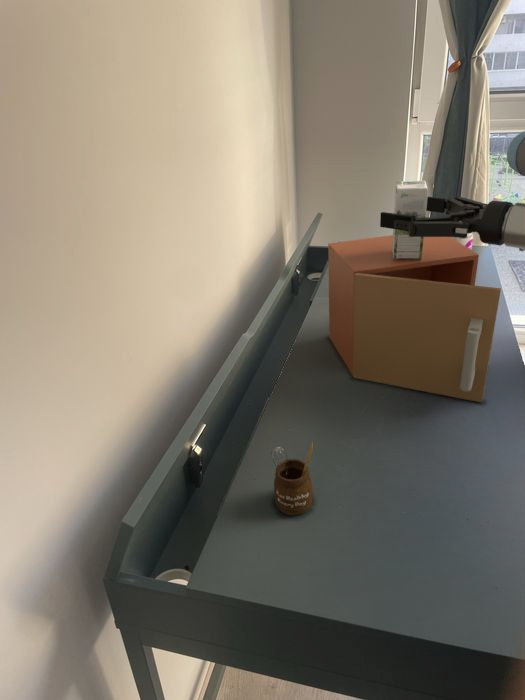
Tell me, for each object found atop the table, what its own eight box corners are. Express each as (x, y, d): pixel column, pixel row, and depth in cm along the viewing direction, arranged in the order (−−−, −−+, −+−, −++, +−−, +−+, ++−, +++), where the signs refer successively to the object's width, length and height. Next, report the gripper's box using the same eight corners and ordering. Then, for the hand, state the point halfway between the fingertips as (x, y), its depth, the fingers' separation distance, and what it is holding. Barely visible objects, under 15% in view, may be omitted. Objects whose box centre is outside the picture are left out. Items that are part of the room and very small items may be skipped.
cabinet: (464, 357, 117) (479, 254, 105) (352, 375, 114) (354, 271, 102) (429, 322, 133) (437, 229, 121) (329, 337, 130) (328, 243, 118)
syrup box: (420, 250, 110) (425, 179, 103) (422, 260, 105) (428, 186, 98) (391, 250, 111) (395, 180, 104) (392, 260, 106) (396, 187, 99)
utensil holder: (276, 488, 87) (272, 431, 81) (315, 489, 86) (313, 431, 80) (273, 516, 82) (268, 457, 76) (314, 517, 81) (312, 457, 75)
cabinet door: (477, 420, 98) (496, 304, 86) (343, 392, 109) (344, 286, 97) (482, 399, 103) (501, 288, 91) (354, 375, 114) (356, 272, 102)
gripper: (478, 267, 86) (365, 247, 99) (528, 226, 102) (425, 213, 115) (484, 222, 83) (366, 207, 95) (535, 186, 99) (428, 177, 111)
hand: (398, 210), depth 105 cm, fingers open, 13 cm apart
